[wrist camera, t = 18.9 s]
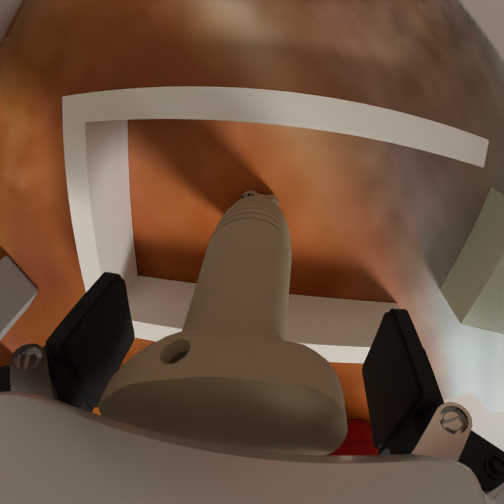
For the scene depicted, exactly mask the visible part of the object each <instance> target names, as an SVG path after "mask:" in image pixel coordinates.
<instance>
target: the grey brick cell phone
mask: <svg viewBox="0 0 504 504" xmlns="http://www.w3.org/2000/svg"><path fill="white" fill-rule="evenodd" d="M37 292H38V288H37V287H36V286H35V285H34V284H33V283H32V282H31V281H30V280H29V279H28V278H27V276H26V275H25V274H24V273H23V272H22V271H21V270H20V269H19V267H18V266H17V265H16V264H15V263H14V262H13V260H12V259H11V258H10V257H9V256H7V255H6V256H4V257H3V258H2V259H1V260H0V340H1V339H2V338H3V336H4V335H5V334H6V333H7V332H8V330H9V329H10V328H11V327H12V326H13V324H14V323H15V322H16V321H17V320H18V319H19V317H20V316H21V315H22V314H23V313H24V312H25V311H26V309H27V308H28V307H29V305H30V304H31V302H32V300H33V299H34V297H35V296H36V294H37Z"/></svg>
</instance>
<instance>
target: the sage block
mask: <svg viewBox="0 0 504 504" xmlns="http://www.w3.org/2000/svg"><path fill="white" fill-rule="evenodd" d="M440 291H441V293H442V294H443V296H444V297H445V299H446V300H447V302H448V304H449V305H450V307H451V308H452V310H453V312H454V313H455V315H456V317H457V318H458V320H459V322H460V323H461V324H464V325H469V326H473V327H477V328H481V329H485V330H489V331H494V332H498V333H502V334H504V195H503V194H502V193H500V192H498V191H497V190H495V189H493V188H492V187H491V189H490V191H489V193H488V196H487V198H486V200H485V203H484V205H483V207H482V209H481V212H480V214H479V216H478V218H477V220H476V222H475V225H474V227H473V229H472V231H471V233H470V235H469V237H468V239H467V241H466V243H465V245H464V247H463V249H462V250H461V252H460V254H459V256H458V258H457V260H456V262H455V263H454V265H453V267H452V269H451V271H450V272H449V274H448V276H447V278H446V279H445V281H444V283H443V285H442V286H441V288H440Z"/></svg>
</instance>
